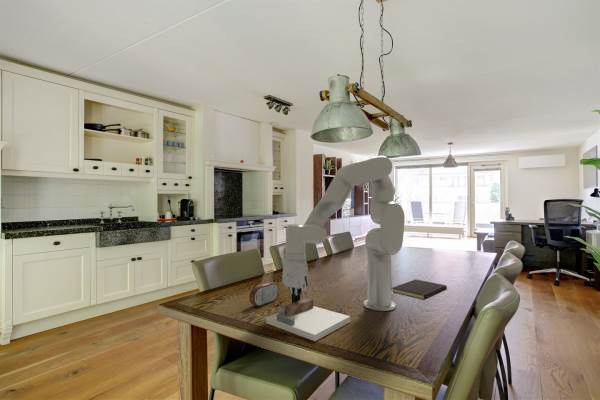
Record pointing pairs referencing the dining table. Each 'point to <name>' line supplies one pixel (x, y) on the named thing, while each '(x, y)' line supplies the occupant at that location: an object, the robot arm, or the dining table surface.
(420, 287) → the hardcover book
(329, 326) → the white flat square panel
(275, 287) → the tin
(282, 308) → the folding leg
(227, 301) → the dining table surface
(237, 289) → the dining table surface
